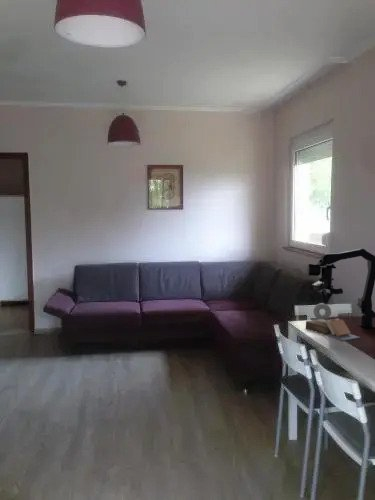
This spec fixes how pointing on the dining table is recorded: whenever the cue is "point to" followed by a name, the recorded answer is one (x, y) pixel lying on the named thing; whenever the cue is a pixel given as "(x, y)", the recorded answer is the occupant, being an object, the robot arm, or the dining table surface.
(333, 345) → the dining table surface
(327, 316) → the donut
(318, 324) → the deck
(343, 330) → the tile upper
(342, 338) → the mat
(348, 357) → the dining table surface
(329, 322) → the tile lower
